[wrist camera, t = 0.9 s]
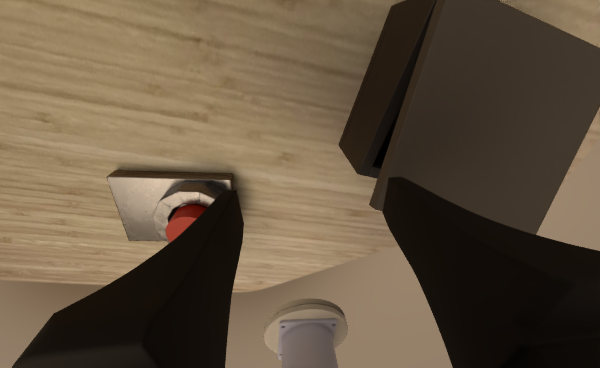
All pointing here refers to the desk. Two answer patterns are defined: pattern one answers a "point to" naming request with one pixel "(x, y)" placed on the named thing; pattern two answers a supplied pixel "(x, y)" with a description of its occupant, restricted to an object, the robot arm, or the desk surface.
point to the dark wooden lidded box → (385, 86)
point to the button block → (161, 198)
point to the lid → (493, 112)
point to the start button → (183, 220)
